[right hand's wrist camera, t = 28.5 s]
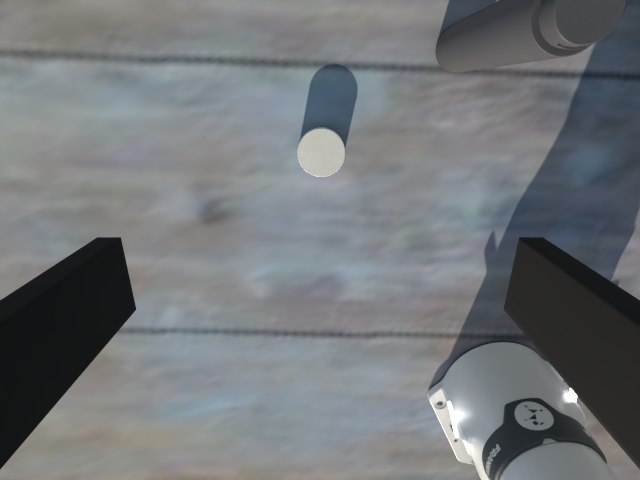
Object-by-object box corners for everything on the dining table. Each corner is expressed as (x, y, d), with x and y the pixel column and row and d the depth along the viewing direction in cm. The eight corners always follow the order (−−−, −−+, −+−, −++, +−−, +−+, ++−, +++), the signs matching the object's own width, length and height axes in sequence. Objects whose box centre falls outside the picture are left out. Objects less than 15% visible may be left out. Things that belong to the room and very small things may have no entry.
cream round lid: (298, 126, 40) (297, 128, 38) (345, 127, 40) (346, 128, 38) (298, 173, 41) (297, 176, 40) (343, 173, 42) (344, 177, 40)
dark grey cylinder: (482, 67, 37) (632, 42, 19) (438, 77, 38) (545, 63, 20) (479, 17, 36) (640, -59, 18) (433, 29, 36) (546, -35, 18)
